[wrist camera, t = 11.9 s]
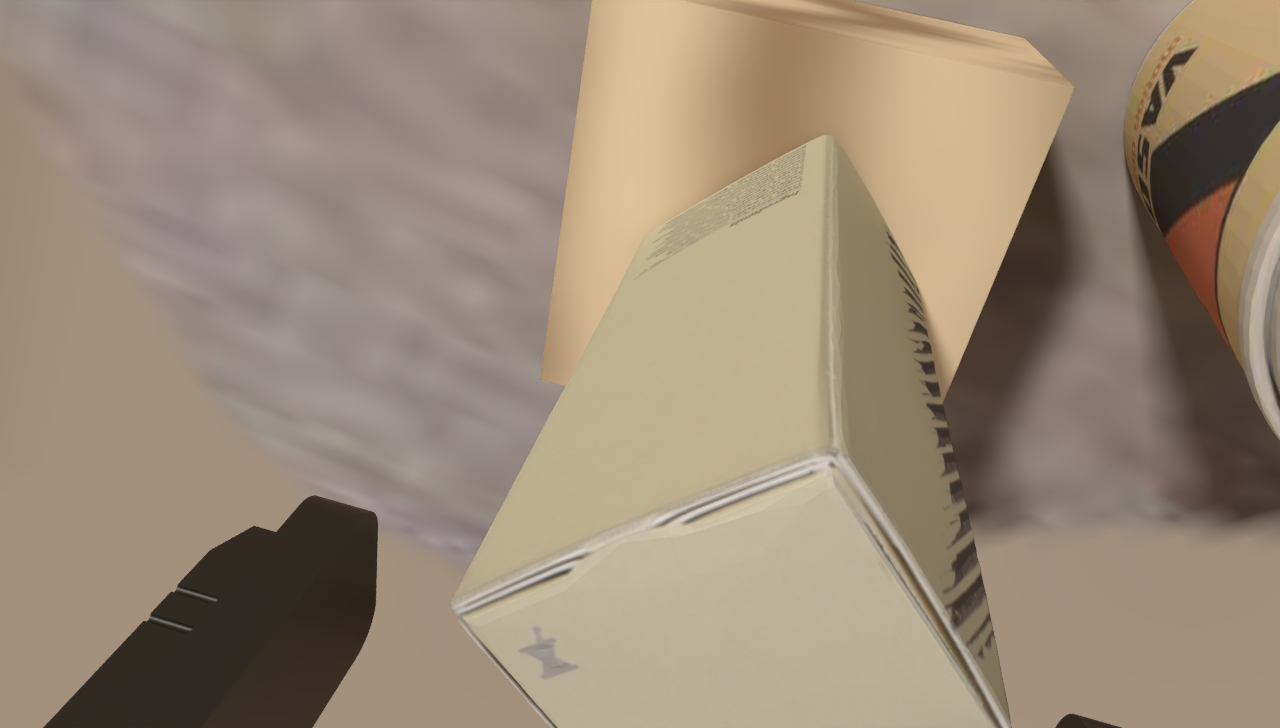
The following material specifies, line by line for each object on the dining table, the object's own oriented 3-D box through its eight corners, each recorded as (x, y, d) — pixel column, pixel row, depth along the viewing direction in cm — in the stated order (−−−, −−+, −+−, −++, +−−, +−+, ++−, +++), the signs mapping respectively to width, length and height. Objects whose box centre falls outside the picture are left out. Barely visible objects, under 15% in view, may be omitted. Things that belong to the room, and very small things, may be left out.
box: (734, 372, 23) (626, 854, 12) (640, 228, 21) (415, 618, 10) (934, 280, 20) (1034, 766, 9) (842, 112, 19) (836, 450, 8)
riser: (1024, 38, 23) (1074, 87, 18) (900, 365, 28) (912, 477, 23) (649, -44, 24) (594, -19, 19) (594, 288, 29) (539, 379, 24)
